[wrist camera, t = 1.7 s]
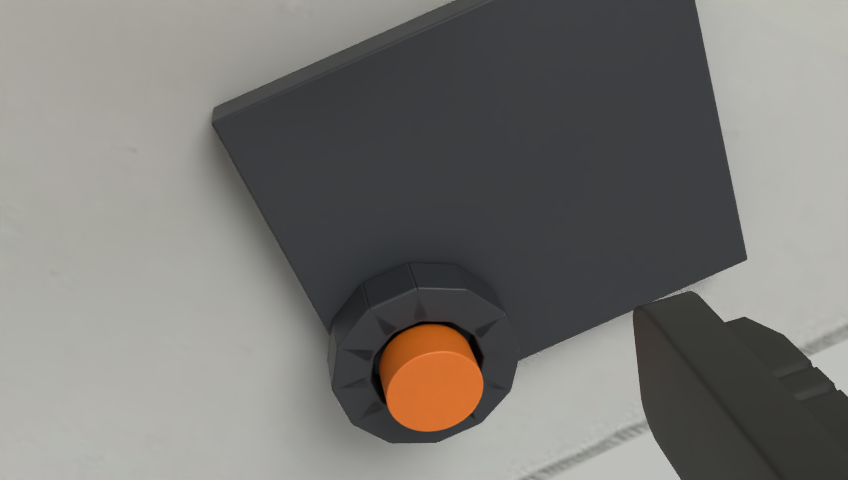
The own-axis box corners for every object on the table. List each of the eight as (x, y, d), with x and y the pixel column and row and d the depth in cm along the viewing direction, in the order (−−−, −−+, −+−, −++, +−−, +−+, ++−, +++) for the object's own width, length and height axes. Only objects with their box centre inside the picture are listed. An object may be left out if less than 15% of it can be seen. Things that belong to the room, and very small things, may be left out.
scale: (366, 412, 29) (378, 469, 27) (198, 113, 23) (192, 150, 21) (729, 251, 29) (777, 293, 27) (656, -90, 23) (708, -79, 21)
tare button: (400, 414, 26) (408, 446, 25) (364, 347, 25) (370, 377, 24) (483, 377, 26) (496, 407, 25) (452, 308, 25) (464, 336, 24)
